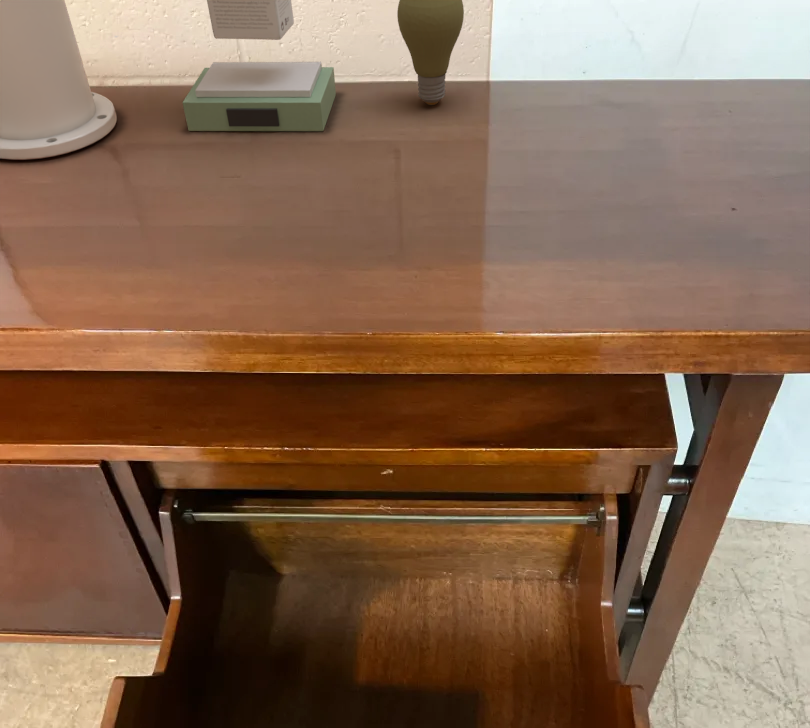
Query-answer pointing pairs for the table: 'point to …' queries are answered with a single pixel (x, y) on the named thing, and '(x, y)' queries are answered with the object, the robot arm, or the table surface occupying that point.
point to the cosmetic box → (250, 18)
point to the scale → (261, 97)
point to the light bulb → (430, 41)
